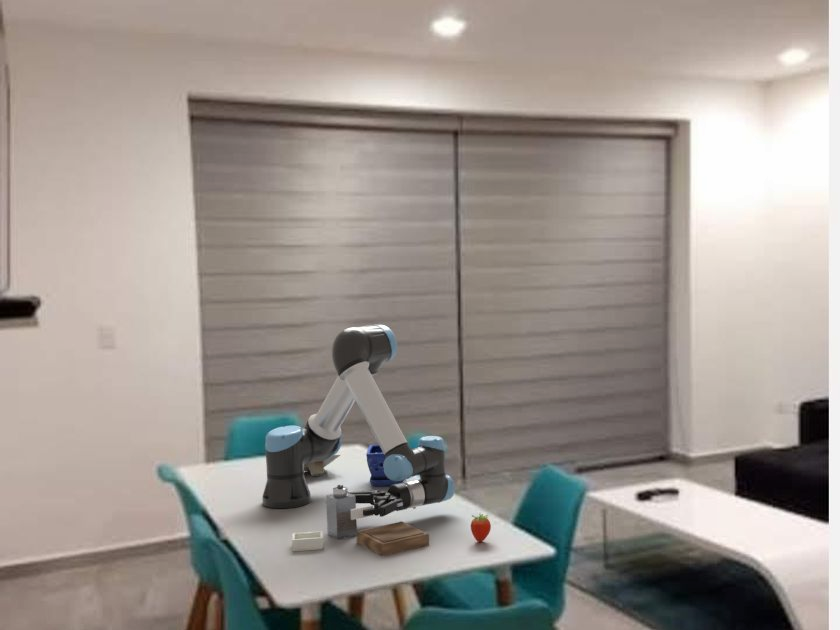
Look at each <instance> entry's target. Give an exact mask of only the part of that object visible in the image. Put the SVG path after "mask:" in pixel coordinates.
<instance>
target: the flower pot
mask: <svg viewBox="0 0 840 630" xmlns="http://www.w3.org/2000/svg"><path fill="white" fill-rule="evenodd" d="M365 455H366V463H367V467H368V470H369V473H370V475H371V476H370V477H369V483H370V484H371V485H372V486H374V487H380V486H381V487H382V486H383V487H385V486H387V487H388V486H389V487H390V486H391V485H394V484H399V483H404V482H405V480H401V481H392V480H390V479H389V478H388V477H387V476H386V475H385V473H384V467H383V464H384V461H385V459H386V457H385V455H384V453H383V451H382V449H381V447H380V446H379V444H370V445H369V446H368V448H367V450H366V454H365Z"/></svg>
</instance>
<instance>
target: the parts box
mask: <svg viewBox="0 0 840 630" xmlns="http://www.w3.org/2000/svg"><path fill="white" fill-rule="evenodd" d="M323 533H324V532H323V530H320V531H319V530H318V531H306V532H305V531H304V532H293V533H292V534H291V535H292V536H291V537H292V539H291V542H292V552H301V551H302V552H303V551H315V550H316V551H317V550H324V535H323Z"/></svg>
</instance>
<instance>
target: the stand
mask: <svg viewBox="0 0 840 630" xmlns="http://www.w3.org/2000/svg"><path fill="white" fill-rule="evenodd" d="M356 543H357V544H359V545H361V546H363V547H365V548H367V549H369V550H371V551H373V552H375V553H377V554H379V555H381V556H382V557H385V556H389V555H394V554H397V553H402V552H406V551H410V550H414V549H415V550H416V549H418V548H423V547H426V546H430V533H428V532H426V531H424V530H421V529H419V528H417V527H414V526H412V525H410V524H407V523H406V522H404V521H397V522H393V523H389V524H384V525H380V526H379V525H378V526H375V527H369V528H365V529H360V530H357V535H356Z"/></svg>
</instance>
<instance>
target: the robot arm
mask: <svg viewBox="0 0 840 630" xmlns="http://www.w3.org/2000/svg"><path fill="white" fill-rule="evenodd" d="M397 351H398V342H397V338H396V336H395V333H394V332H393V330H391V329H390V327H388V326H387V325H384V324H377V323H376V324H375V323H373V324H371V325H370V324H369V325H363V326H352V327H347V328H345V329H343V330H341V331H340V332H339V333H337V334H336V337H335V338H334V340H333V343H332V347H331V359H332V362H333V366H334V369H335V372H336V373H337V378H336V379H335V380H334V382H333V384H332V387H331V388H330V390H329V392H328V393H327V395H326V397H325V399H324V401H323V402H322V404H321V406H320V407H319V409H318V411H317V412H316V413H314V414H311V415H310V416H309V418H308V419H307V421H306V423H305V424H304V426H303V427H301V426H299V425H285V426H278V427H276V428H274V429H272V430H270V431H269V432H267V433H266V435H265V444H264V449H265V460H266V462H265V463H266V464H265V465H266V483H265V486H264V490H263V493H262V501H261V502H262V505H263V507H266V508H270V509H290V508H291V509H292V508H296V507H297V508H298V507H301V506H302V507H303V506H305V505H308V504H309V503H310V502H311V501H312V499H311V496H312V495H311V491H310V488H309V486H308V483H307V480H306V479H305V471H304V465H305V464H309V463H312V462H316V461H320V460H325V459H328V458H330V457H332V456H334V455H337V453H338V452H339V451H340V449H341V446H342V442H343V441H342V440H341V439H342V428H341V425H342V424H343V422H344V421H345V419H346V418H347V415H348V414H349V412H350V411H351V409H352V407H353V405H354V404H355V402H356V404H357V406H358V408H359V409H360V411H361V413H362V416H363V417H364V419H365V420H366V421H365V422H367V424H368V427H369V428H370V430H371V433H372V435H373V436H374V438H375V440H376V442H377V443H378V444H377V445H379V446H380V447H381V449H382V451H383V453H384V455H385V457H386V459H385V461H384V464H383V467H384V473H385V475H386V476H387V477H388V478H389V479H390V480H392V481H401V480H404V481H403V483H399V484H394V485H391V486H389V487H388V490H387V492H386V491H385V490H384V491H381V490H380V489H375V490H365V491H364V490H363V491H348V493H350V494H352V495H354V496H355V498H356V504H368V505H365V506H361V507H360V506H359V507H356V508H355V509H351V520H354V519H356V520H357V519H358V520H359V519H363V518H367V517H368V518H369V517H372V516H376V517H378V516H379V517H382V518H383V517H385V516H387V515H389V514H391V513H393V512H395V511H396V512H400V511H405V510H408V509H411V508H412V509H413V510H416V508H417V507H421V506H427V505H433V504H436V503H437V504H439V503H442V502H445V501H449V500H451V499H452V498H454V495H455V491H456V487H455V484H454V479H453V478H452V477H451V476H450V475H448V474H446V449H445V441H444V438H443V437H441V436H438V435H428V436H427V435H426V436H422V437H420V438H419V439H418V444H417V447H414V448H412V447H411V446H410V444H409V442H408V441H407V438H406V437H405V435H404V433H403V432H402V430H401V428H400V426H399V424H398V422H397V420H396V418H395V416H394V414H393V413H392V411H391V409H390V407H389V406H388V404H387V402H386V399H385V397H384V396H383V393H382V392H381V390H380V388H379V386H378V385H377V383H376V381H375V379H374V377H373V376H375V375H377V374H378V372H379V370H380V369H381V367H382V366H383V363H386V362H389V361H391V360H392V359H394V358H395V356H396V354H397ZM418 475H419V477H420V479H414V480H409V479H410V478H413V477H415V476H418ZM406 480H409V481H406Z"/></svg>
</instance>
